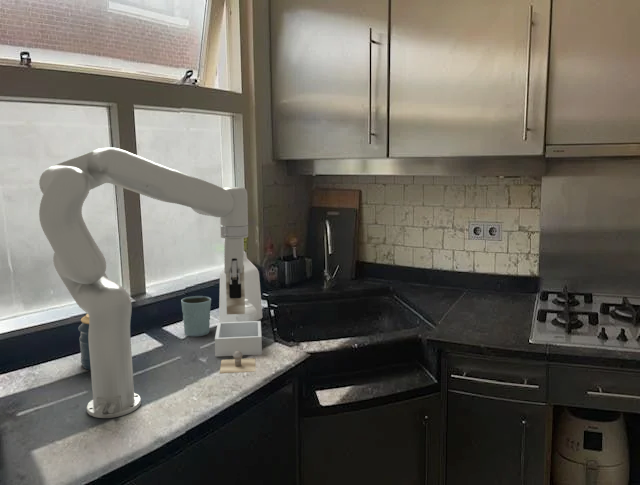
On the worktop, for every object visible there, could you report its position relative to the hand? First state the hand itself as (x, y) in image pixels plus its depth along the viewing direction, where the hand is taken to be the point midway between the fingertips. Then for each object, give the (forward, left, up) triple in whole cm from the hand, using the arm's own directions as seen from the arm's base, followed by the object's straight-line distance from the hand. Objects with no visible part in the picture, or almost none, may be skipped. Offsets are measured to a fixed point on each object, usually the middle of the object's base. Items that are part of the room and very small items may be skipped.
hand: (235, 294), depth 152 cm
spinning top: (+33, -2, -23) cm, 40 cm away
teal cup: (+36, +15, -23) cm, 45 cm away
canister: (+11, +40, -23) cm, 47 cm away
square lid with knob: (0, 0, -23) cm, 23 cm away
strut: (0, 0, -5) cm, 5 cm away
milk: (+48, 0, -23) cm, 53 cm away
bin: (+16, 0, -23) cm, 28 cm away
